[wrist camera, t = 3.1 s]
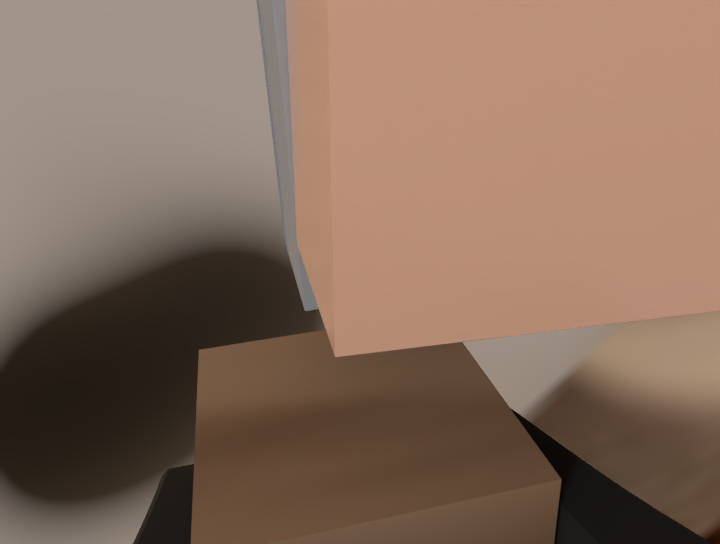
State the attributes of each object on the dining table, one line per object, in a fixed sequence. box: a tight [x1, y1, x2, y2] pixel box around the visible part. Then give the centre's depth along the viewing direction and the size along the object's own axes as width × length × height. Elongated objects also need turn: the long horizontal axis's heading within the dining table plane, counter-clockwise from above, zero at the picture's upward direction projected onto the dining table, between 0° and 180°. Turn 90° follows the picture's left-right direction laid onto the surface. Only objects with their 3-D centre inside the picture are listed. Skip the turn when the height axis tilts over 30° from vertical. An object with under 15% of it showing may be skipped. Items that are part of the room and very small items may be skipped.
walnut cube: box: [191, 330, 562, 544], centre depth 9 cm, size 4×4×4 cm
